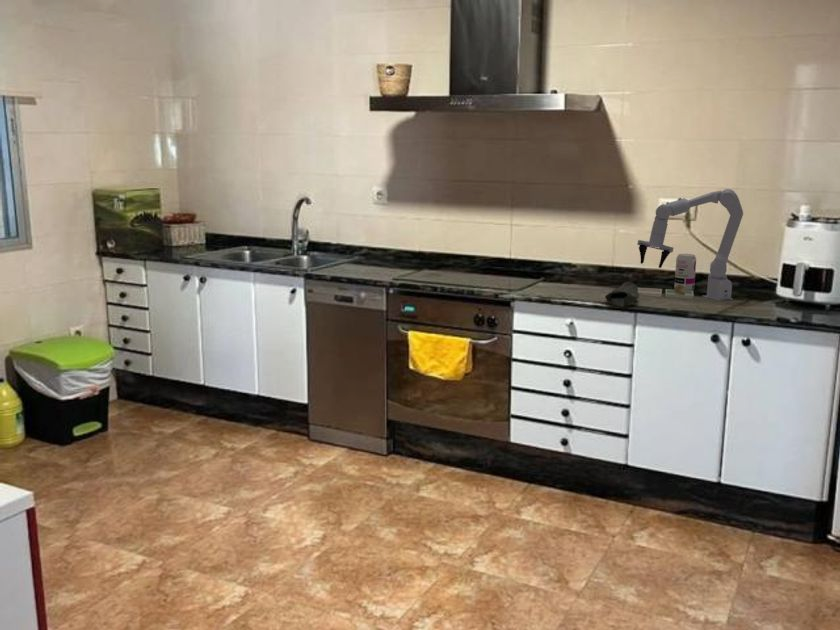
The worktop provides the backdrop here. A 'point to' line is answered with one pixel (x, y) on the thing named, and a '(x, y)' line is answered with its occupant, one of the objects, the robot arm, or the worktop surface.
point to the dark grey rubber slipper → (623, 295)
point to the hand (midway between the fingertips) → (650, 265)
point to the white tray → (650, 292)
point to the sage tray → (671, 294)
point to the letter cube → (679, 289)
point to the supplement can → (685, 271)
